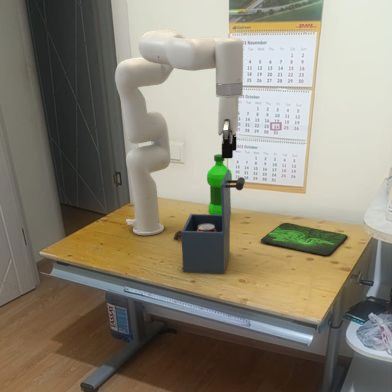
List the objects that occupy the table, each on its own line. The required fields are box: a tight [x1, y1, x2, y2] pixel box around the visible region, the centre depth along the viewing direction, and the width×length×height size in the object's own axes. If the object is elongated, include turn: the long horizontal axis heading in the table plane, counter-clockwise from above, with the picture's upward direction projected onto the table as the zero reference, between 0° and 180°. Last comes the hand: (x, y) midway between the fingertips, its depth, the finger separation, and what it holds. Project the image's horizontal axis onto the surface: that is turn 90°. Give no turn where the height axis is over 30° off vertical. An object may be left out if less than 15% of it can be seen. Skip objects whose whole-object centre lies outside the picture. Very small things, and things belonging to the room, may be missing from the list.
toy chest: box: [180, 213, 231, 275], centre depth 160 cm, size 14×17×14 cm
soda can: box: [197, 223, 217, 232], centre depth 161 cm, size 7×7×12 cm
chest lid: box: [221, 169, 246, 232], centre depth 150 cm, size 15×17×6 cm
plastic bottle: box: [206, 153, 233, 215], centre depth 194 cm, size 10×10×25 cm
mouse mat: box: [260, 222, 348, 257], centre depth 177 cm, size 27×22×1 cm
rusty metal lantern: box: [173, 230, 182, 242], centre depth 178 cm, size 7×13×10 cm
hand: (229, 154), depth 143 cm, fingers open, 9 cm apart
